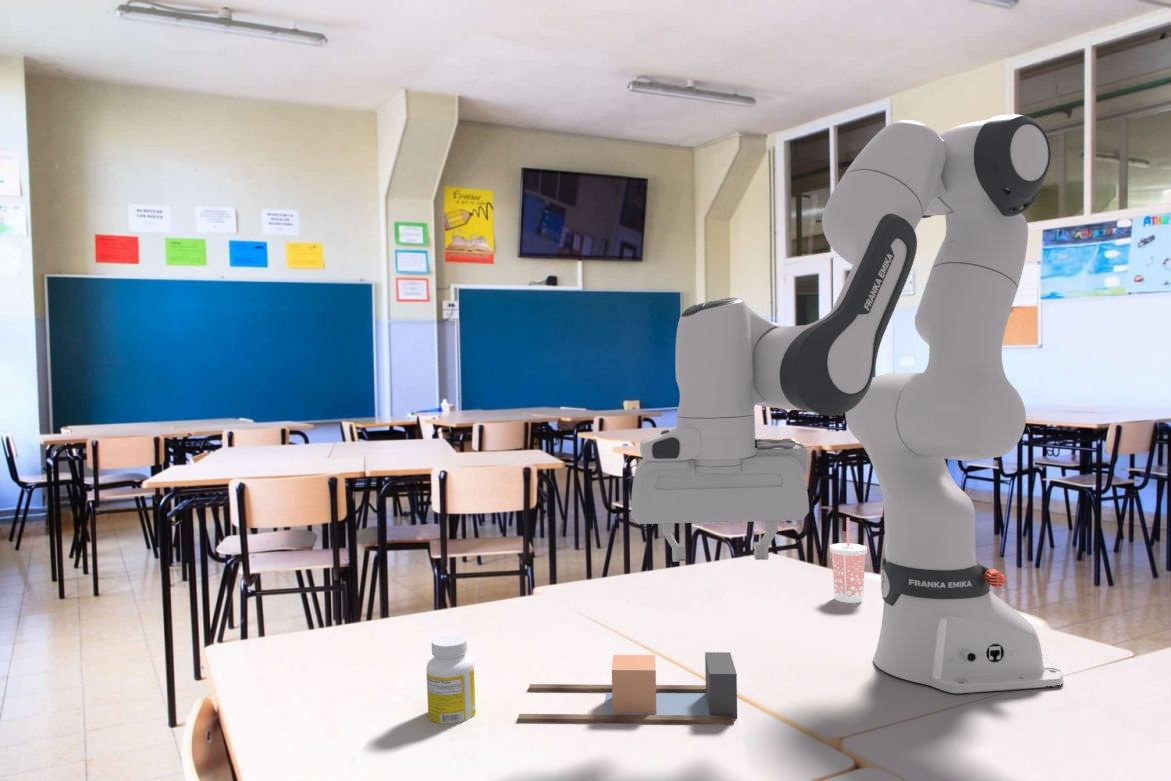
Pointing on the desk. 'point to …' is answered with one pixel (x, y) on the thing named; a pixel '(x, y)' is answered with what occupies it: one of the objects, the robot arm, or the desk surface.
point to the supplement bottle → (450, 681)
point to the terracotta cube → (634, 684)
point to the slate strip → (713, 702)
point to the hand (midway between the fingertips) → (719, 559)
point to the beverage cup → (848, 570)
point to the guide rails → (621, 718)
